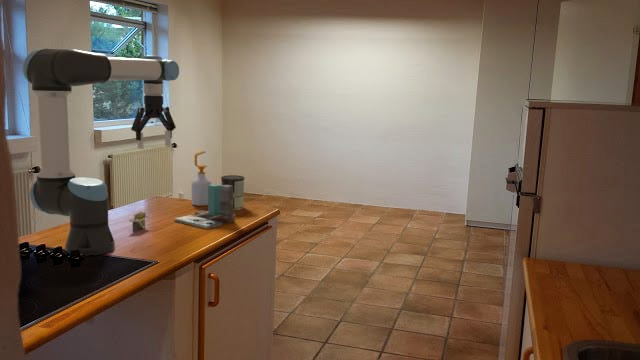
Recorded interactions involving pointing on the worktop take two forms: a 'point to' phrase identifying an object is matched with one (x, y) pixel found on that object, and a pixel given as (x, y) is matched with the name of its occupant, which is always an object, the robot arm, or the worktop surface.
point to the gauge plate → (198, 222)
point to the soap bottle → (200, 185)
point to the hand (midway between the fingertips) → (154, 147)
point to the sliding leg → (213, 200)
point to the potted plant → (138, 221)
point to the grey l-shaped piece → (223, 206)
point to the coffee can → (235, 189)
